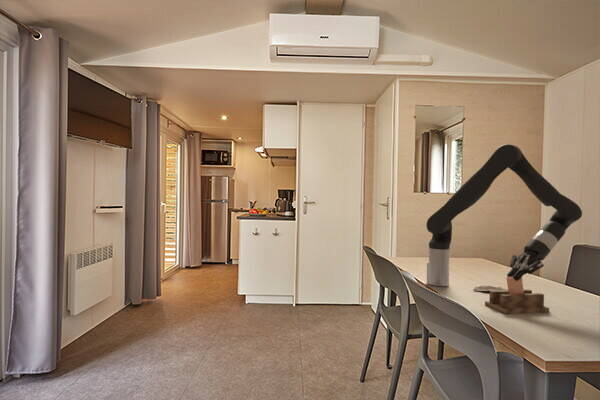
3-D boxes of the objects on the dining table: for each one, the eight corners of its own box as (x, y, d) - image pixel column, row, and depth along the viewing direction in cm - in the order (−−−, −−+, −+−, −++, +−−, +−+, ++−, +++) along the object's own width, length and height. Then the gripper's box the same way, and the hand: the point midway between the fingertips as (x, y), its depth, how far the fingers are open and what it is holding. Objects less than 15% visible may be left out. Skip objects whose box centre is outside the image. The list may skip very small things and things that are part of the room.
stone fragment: (471, 290, 170) (474, 295, 161) (471, 284, 170) (474, 289, 161) (535, 295, 162) (541, 301, 152) (535, 288, 162) (541, 294, 152)
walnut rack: (505, 314, 132) (505, 297, 132) (484, 305, 143) (485, 289, 143) (549, 312, 135) (549, 295, 135) (525, 303, 146) (526, 288, 146)
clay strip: (514, 304, 138) (511, 278, 137) (510, 303, 140) (506, 277, 140) (525, 302, 138) (521, 276, 138) (520, 300, 141) (516, 274, 140)
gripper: (520, 236, 147) (492, 268, 145) (550, 240, 133) (520, 275, 131) (532, 249, 148) (504, 281, 146) (562, 255, 134) (532, 289, 132)
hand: (512, 278), depth 139 cm, fingers closed on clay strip, 2 cm apart
